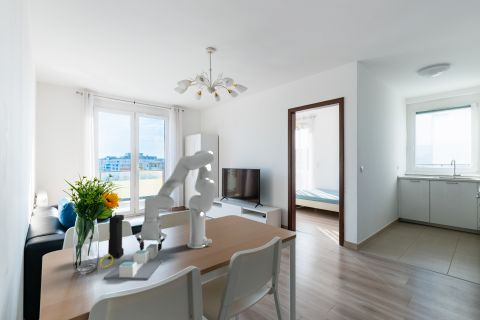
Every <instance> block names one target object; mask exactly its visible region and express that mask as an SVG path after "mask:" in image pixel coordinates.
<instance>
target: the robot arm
mask: <svg viewBox="0 0 480 320" xmlns="http://www.w3.org/2000/svg"><path fill="white" fill-rule="evenodd" d="M214 160H215V154H214V153H213V151H211V150H208V149H207V150H198V151H195V153H194V154H192V155H184V156H182V157H180V158H179V159H178V162H177V164H176V165H175V168H174V169H173V170H172V174H170V177H168V179H167V180H166V181H165V182H164V183H163V185H162V186H161V187H160V189H159V190H158V193H157V195H156V196H147V197H145V198H144V199H145V200H144V215H143V216H144V218H143V219H144V220H143V222H142V226H141V229H140V230H141V231H140V232H138V233H136V234H135V238H136V240H137V242H138V243H139V250H144V248H145V241H156V242H157V243H158V244H157V252H160V251H161V250H162V248H163V242H164V241H165V240H166V239H167V236H168V235H167V234H165V233H164V232H162V222H161V220H162V217H161V216H160V210H165V211H166V210H170V209H172V208H174V206H175V199H174V198H173V197H172V196H171V195H172V193H173V192H174V191H175V189H177V188H178V187H180V186H181V185H183V184H185V181H186V179H187V176H188V175H189V173H190V171H195V170H197V169H198V172H197V177H196V181H195V185H194V190H195V191H196V192H197V193H199V194H194V195H192V196H191V197H190V198H189V200H188V209H189V242H187V243H186V244H187V247H188V248H190V249H202V248H205V247H207V246H208V244H212V243H213V240H212V239H211V238H207V236H206V213H208V212H210V211H211V209H212V207H213V204H214V200H215V196H216V192H217V184H216V182H215V181H214V180H212V179H211V178H212V173H213V170H212V169H213V168H212V165H211V164H212V163H213V162H214ZM162 237H163V238H162Z"/></svg>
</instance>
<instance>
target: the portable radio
mask: <svg viewBox="0 0 480 320" xmlns="http://www.w3.org/2000/svg"><path fill="white" fill-rule="evenodd" d="M114 214H115V215H112V216H110V217H109V219H108V220H109V221H108V223H109V224H108V225H109V227H108V231H109V232H108V233H109V239H108V244H107V245H108V246H107V254H110V255H111V256H112V257H113V258H114V260H117V259H118V260H119V259H120V258H121V257H122V256H124V254H125V253H124V251H125V249H124V248H123V220H125V215H124V214H117V212H114ZM111 256H109V257H107V259H108V260H112V257H111Z"/></svg>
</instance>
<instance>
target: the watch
mask: <svg viewBox="0 0 480 320" xmlns="http://www.w3.org/2000/svg"><path fill="white" fill-rule="evenodd" d="M109 256H111V255H110V254H108V253H106V254H103V257H101V259H100V261H99V265H100V267H101V268H104V269H105V268H107V267H110V266H112V265H113V263H114V260H115V259H114V258H113V257H112V256H111V257H112V259H111V261H110V263H109V264H108V265H104V266H103V261H104V259H105V258H108V257H109Z"/></svg>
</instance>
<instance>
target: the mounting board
mask: <svg viewBox="0 0 480 320" xmlns="http://www.w3.org/2000/svg"><path fill="white" fill-rule="evenodd" d="M162 263H163V260H162V259H149V251H147V250H146V249H145V250H144V249H143V250H140V249H139V250H138V249H137V250H136V251H135V252H134V253H133V259H123V260H122V261H121V262H119V264H118V265H116V266H115V267H114V268H113V269H112V270H110V271H109V272H108V273H107V274H105V276H103V280H111V281H112V280H115V281H117V280H120V281H122V280H123V281H127V280H128V281H129V280H130V281H149V279H150V278H151V277H152V275H153V274H154V273H155V272H156V270H157V269H158V268H159V266H160V265H161V264H162Z"/></svg>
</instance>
